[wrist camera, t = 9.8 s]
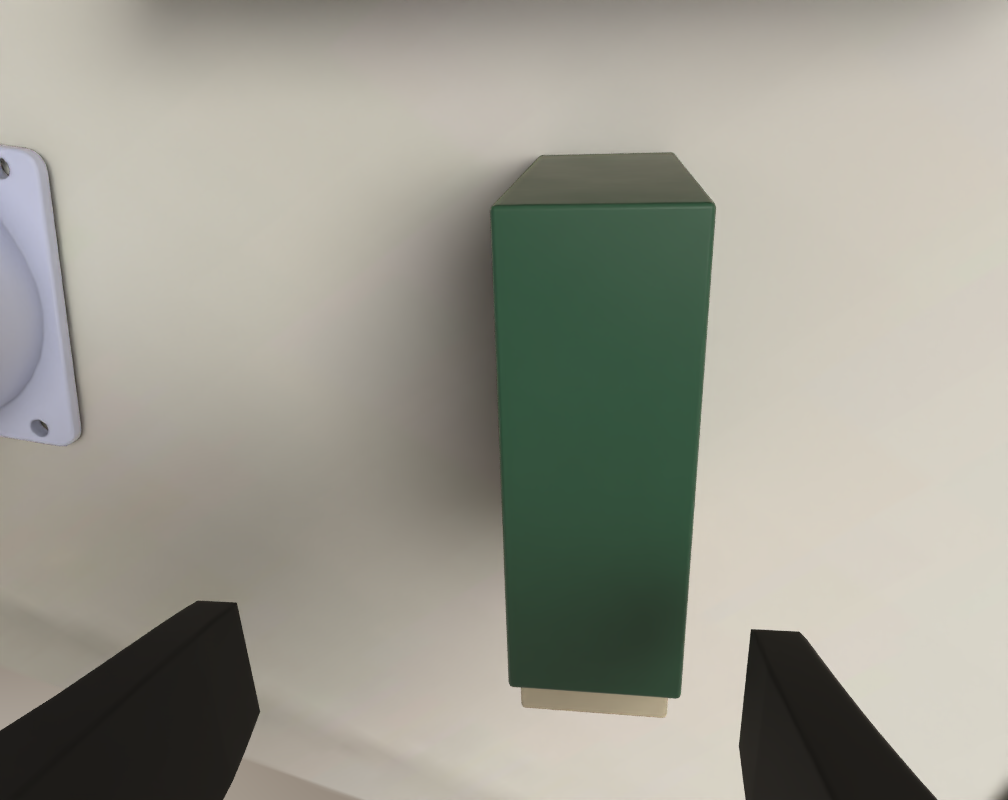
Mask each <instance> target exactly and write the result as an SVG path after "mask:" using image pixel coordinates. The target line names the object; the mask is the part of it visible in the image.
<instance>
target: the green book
mask: <svg viewBox="0 0 1008 800" xmlns="http://www.w3.org/2000/svg"><path fill="white" fill-rule="evenodd" d="M715 214H716V206H715V204H714V202H713V201H712V200H711V199H710V197H709V196H708V195H707V194H706V192H705V191H704V190H703V189H702V187H701V186H700V185H699V184H698V183H697V181H696V180H695V179H694V178H693V176H692V175H691V174H690V173H689V171H688V170H687V169H686V168H685V167H684V165H683V164H682V163H681V162H680V160H679V159H678V158H677V157H676V156H675V154H674V153H629V154H585V155H542V156H540V157H539V158H538V159H537V160H536V161H535V162H534V163H533V164H532V165H531V166H530V167H529V168H528V169H527V170H526V171H525V172H524V173H523V174H522V175H521V177H520V178H519V179H518V180H517V181H516V182H515V183H514V184H513V185H512V186H511V187H510V188H509V189H508V190H507V191H506V192H505V193H504V194H503V195H502V196H501V197H500V198H499V199H498V200H497V201H496V203H495V204H494V205H493V206H492V207H491V210H490V220H491V246H492V271H493V296H494V322H495V347H496V372H497V397H498V423H499V448H500V473H501V499H502V524H503V549H504V575H505V600H506V625H507V651H508V676H509V684H510V686H512V687H521V700H522V705H523V707H525V708H539V709H552V710H565V711H579V712H592V713H606V714H619V715H632V716H646V717H659V718H664V717H665V716H666V714H667V703H668V698H679V697H680V695H681V685H682V671H683V657H684V643H685V629H686V615H687V602H688V588H689V574H690V560H691V546H692V532H693V519H694V505H695V491H696V477H697V463H698V449H699V435H700V422H701V408H702V394H703V380H704V366H705V352H706V339H707V325H708V311H709V297H710V283H711V269H712V256H713V242H714V228H715Z"/></svg>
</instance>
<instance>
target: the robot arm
mask: <svg viewBox="0 0 1008 800" xmlns="http://www.w3.org/2000/svg"><path fill="white" fill-rule="evenodd" d="M1 159H4V160H5V162H6V163H7V164H8V167H9V169H10V171H9V176H8V175H7V174H6V173H5V172H4V171H3V169H2V166H1ZM40 421H43V422H44V423H45V424H46V425H47V427H48V430H47V429H45V428H44V427H43V426H42V424H41V422H40ZM80 435H81V422H80V414H79V406H78V399H77V391H76V383H75V376H74V368H73V360H72V353H71V345H70V337H69V330H68V322H67V314H66V307H65V299H64V291H63V284H62V276H61V268H60V261H59V253H58V245H57V238H56V230H55V222H54V214H53V207H52V199H51V191H50V184H49V176H48V170H47V167H46V164H45V162H44V161H43V159H42V158H41V156H40V155H39V154H37V153H36V152H35V151H34V150H31V149H28V148H24V147H16V146H9V145H1V144H0V437H7V438H13V439H19V440H25V441H31V442H37V443H43V444H49V445H55V446H67V445H69V444H71V443H73V442H74V441H76V440H77V439H78V438H79V437H80ZM259 713H260V709H259V704H258V700H257V695H256V690H255V686H254V681H253V676H252V672H251V667H250V662H249V658H248V653H247V648H246V644H245V639H244V634H243V630H242V625H241V620H240V616H239V611H238V606H237V603H233V602H213V601H196V602H195V603H193V604H191V605H190V606H188V607H186V608H185V609H183V610H181V611H180V612H178V613H177V614H175V615H174V616H172V617H171V618H169V619H168V620H166V621H165V622H163V623H162V624H160V625H159V626H157V627H156V628H154V629H153V630H151V631H150V632H148V633H147V634H145V635H144V636H142V637H141V638H140V639H138V640H137V641H135V642H134V643H132V644H131V645H129V646H128V647H126V648H125V649H124V650H122V651H121V652H119V653H118V654H116V655H115V656H113V657H112V658H110V659H109V660H107V661H106V662H104V663H103V664H102V665H100V666H99V667H97V668H96V669H94V670H93V671H91V672H90V673H88V674H87V675H85V676H84V677H82V678H81V679H79V680H78V681H76V682H75V683H74V684H72V685H71V686H69V687H68V688H66V689H65V690H63V691H62V692H60V693H59V694H57V695H56V696H54V697H53V698H51V699H50V700H48V701H46V702H45V703H43V704H42V705H40V706H39V707H37V708H35V709H34V710H32V711H31V712H29V713H27V714H26V715H24V716H23V717H21V718H20V719H18V720H16V721H15V722H13V723H12V724H10V725H9V726H7V727H5V728H4V729H2V730H1V731H0V800H223V799H224V797H225V795H226V793H227V791H228V789H229V787H230V785H231V783H232V781H233V779H234V777H235V774H236V772H237V770H238V767H239V765H240V762H241V760H242V757H243V755H244V753H245V750H246V747H247V745H248V742H249V740H250V737H251V734H252V732H253V729H254V726H255V724H256V721H257V718H258V716H259ZM739 750H740V758H741V766H742V774H743V782H744V790H745V798H746V800H937V799H936V797H935V796H934V795H933V794H932V793H931V792H930V791H929V790H928V789H927V787H926V786H925V785H924V784H923V783H922V782H921V781H920V780H919V778H918V777H917V776H916V775H915V774H914V773H913V772H912V770H911V769H910V768H909V767H908V766H907V765H906V763H905V762H904V761H903V760H902V759H901V758H900V756H899V755H898V754H897V753H896V752H895V750H894V749H893V748H892V747H891V746H890V745H889V743H888V742H887V741H886V740H885V739H884V738H883V736H882V735H881V734H880V733H879V732H878V730H877V729H876V728H875V727H874V726H873V724H872V723H871V722H870V721H869V719H868V718H867V717H866V716H865V715H864V713H863V712H862V711H861V710H860V708H859V707H858V706H857V704H856V703H855V702H854V701H853V699H852V698H851V697H850V696H849V694H848V693H847V692H846V691H845V689H844V688H843V687H842V685H841V684H840V683H839V682H838V680H837V679H836V678H835V676H834V675H833V674H832V672H831V671H830V670H829V668H828V667H827V666H826V665H825V663H824V662H823V661H822V659H821V658H820V657H819V655H818V654H817V653H816V651H815V650H814V648H813V647H812V646H811V644H810V643H809V642H808V640H807V639H806V638H805V637H804V636H803V635H802V634H801V633H800V632H794V631H774V630H755V629H751V634H750V644H749V654H748V663H747V673H746V683H745V692H744V702H743V712H742V721H741V731H740V741H739Z"/></svg>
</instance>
